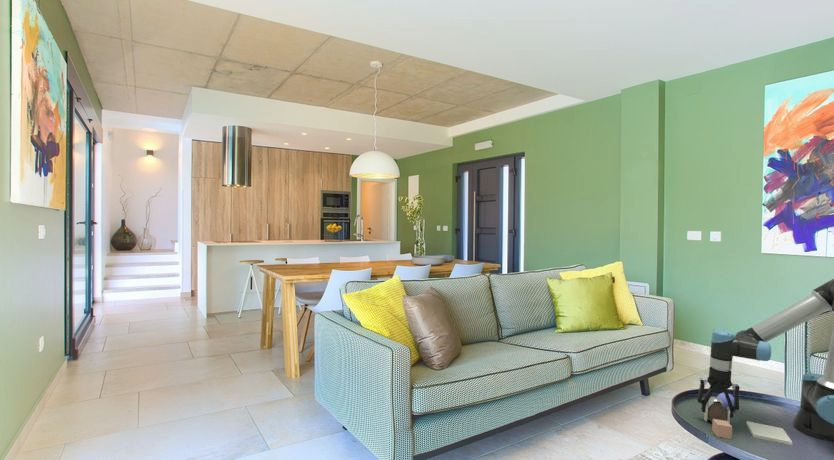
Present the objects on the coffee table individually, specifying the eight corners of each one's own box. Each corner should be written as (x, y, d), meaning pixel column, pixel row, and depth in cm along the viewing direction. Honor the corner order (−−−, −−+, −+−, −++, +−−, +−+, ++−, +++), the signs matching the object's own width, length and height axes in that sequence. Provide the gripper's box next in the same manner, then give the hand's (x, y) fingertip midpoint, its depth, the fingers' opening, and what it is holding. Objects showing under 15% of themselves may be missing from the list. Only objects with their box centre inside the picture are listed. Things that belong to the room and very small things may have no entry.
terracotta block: (726, 433, 175) (727, 420, 175) (731, 439, 171) (732, 426, 170) (711, 430, 177) (712, 418, 177) (716, 437, 172) (717, 424, 172)
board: (782, 431, 178) (782, 428, 178) (792, 445, 167) (792, 442, 167) (746, 423, 183) (746, 421, 183) (753, 437, 173) (753, 434, 173)
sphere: (730, 413, 192) (731, 397, 192) (712, 407, 199) (714, 391, 198) (738, 410, 196) (739, 394, 196) (721, 403, 202) (722, 389, 202)
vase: (729, 427, 180) (731, 406, 179) (710, 425, 181) (712, 404, 180) (721, 419, 186) (723, 399, 186) (703, 417, 188) (704, 397, 187)
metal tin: (720, 411, 194) (721, 398, 194) (722, 416, 190) (723, 402, 189) (707, 408, 196) (708, 395, 196) (709, 413, 192) (710, 400, 192)
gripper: (747, 369, 181) (743, 424, 183) (691, 360, 190) (687, 412, 191) (752, 376, 175) (747, 432, 176) (693, 366, 183) (689, 420, 185)
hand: (716, 422), depth 184 cm, fingers closed on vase, 7 cm apart
